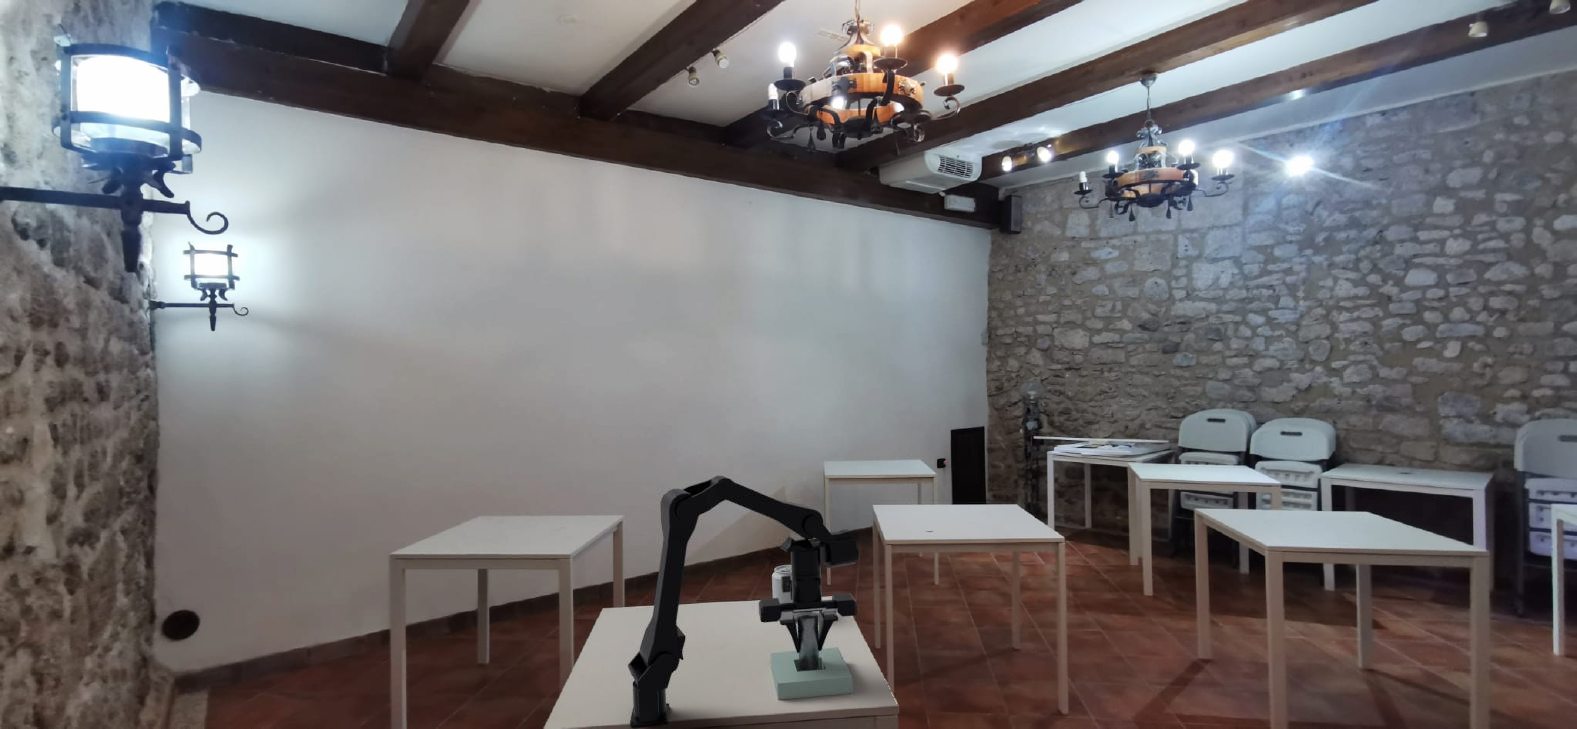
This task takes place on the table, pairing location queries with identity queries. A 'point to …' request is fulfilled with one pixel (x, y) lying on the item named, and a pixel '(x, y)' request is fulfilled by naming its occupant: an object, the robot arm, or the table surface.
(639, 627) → the table surface
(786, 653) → the socket block
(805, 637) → the peg
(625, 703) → the table surface
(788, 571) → the can
